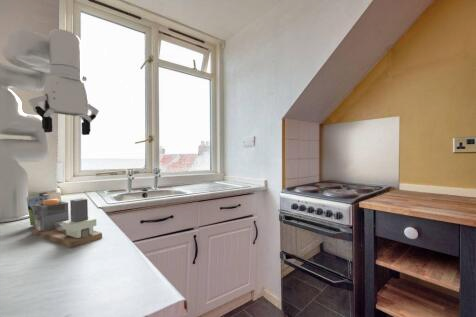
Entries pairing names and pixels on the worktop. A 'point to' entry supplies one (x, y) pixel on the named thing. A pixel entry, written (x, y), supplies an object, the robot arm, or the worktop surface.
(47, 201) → the plunger
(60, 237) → the rail bench
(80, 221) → the carriage
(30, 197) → the beverage can
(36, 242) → the worktop surface
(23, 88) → the robot arm
